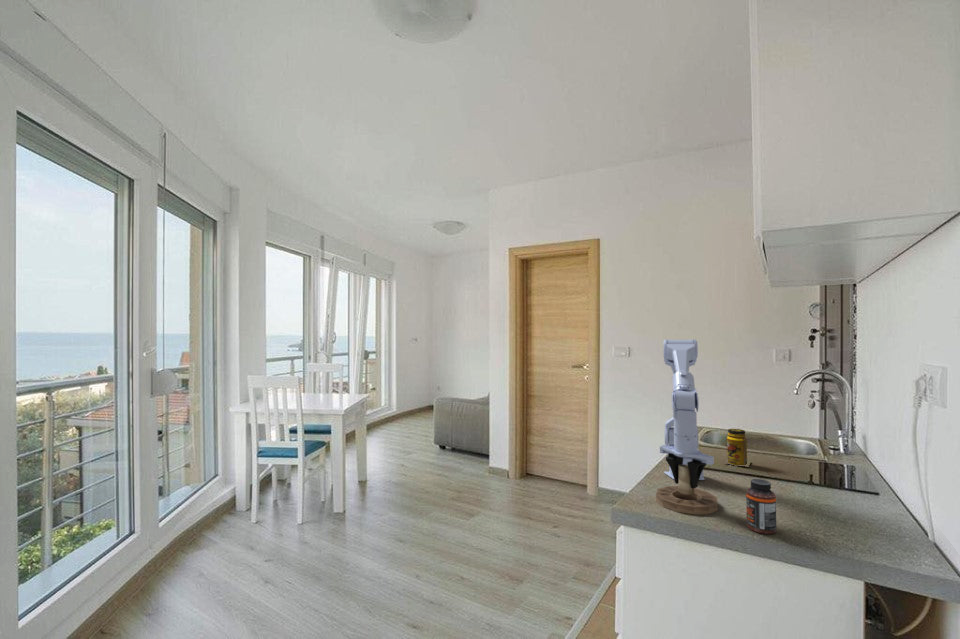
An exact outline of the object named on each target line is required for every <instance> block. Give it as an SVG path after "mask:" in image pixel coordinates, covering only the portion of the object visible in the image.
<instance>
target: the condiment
mask: <svg viewBox="0 0 960 639" xmlns="http://www.w3.org/2000/svg"><path fill="white" fill-rule="evenodd" d="M747 445H748V441H747V438H746V431H745V430H744V429H740V428H728V430H727V436H726V447H727V448H726V453H727V454H726V455H727V456H726V458H727V460H726V462H727V461H728V463H730V464H733V465H746V464H747V462H748V446H747Z"/></svg>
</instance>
